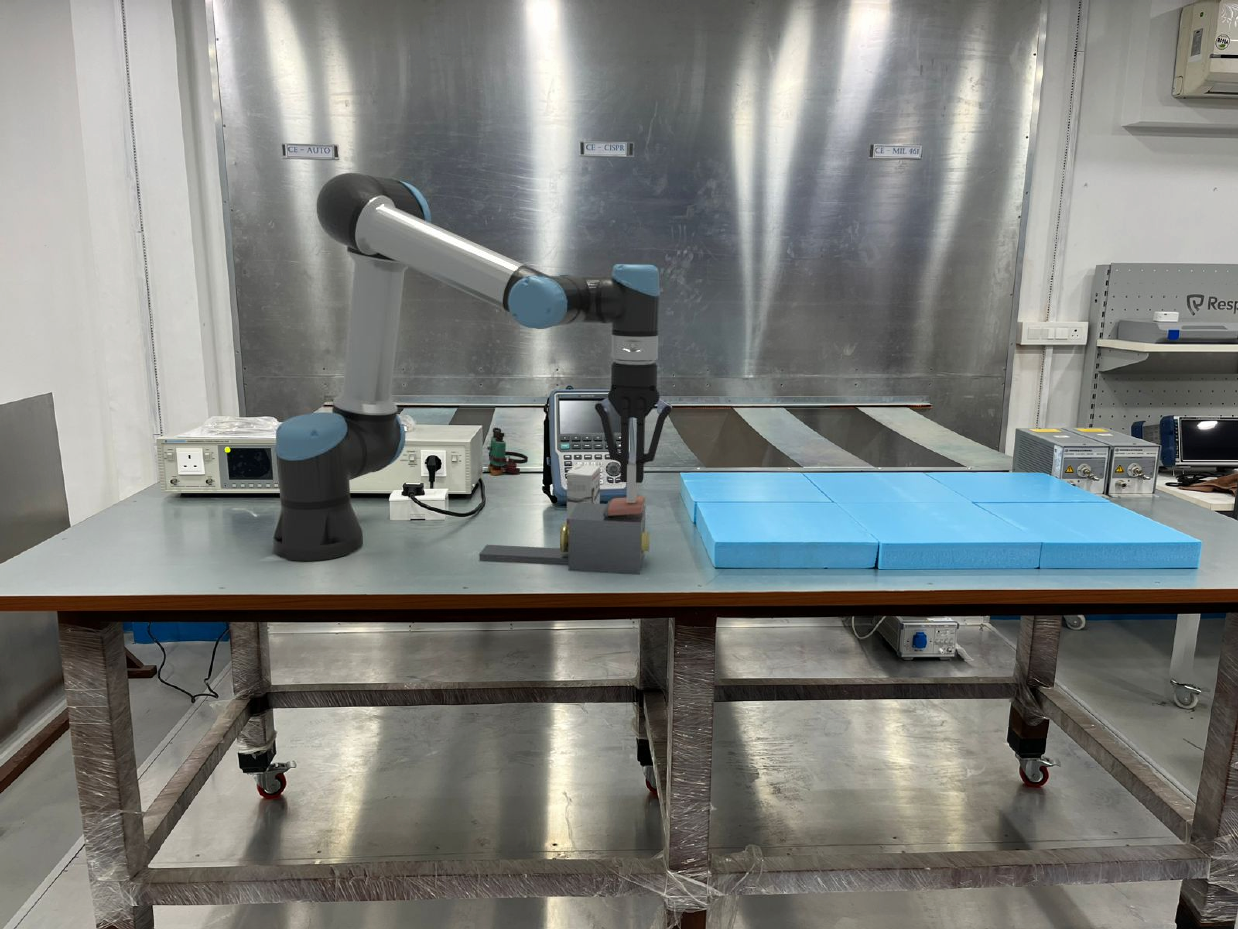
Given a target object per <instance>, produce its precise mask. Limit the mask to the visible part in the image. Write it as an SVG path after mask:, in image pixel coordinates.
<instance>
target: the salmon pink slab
mask: <svg viewBox="0 0 1238 929" xmlns="http://www.w3.org/2000/svg"><path fill="white" fill-rule="evenodd" d="M645 498H646V497H645V495H643V496H637V499H636V502H635V503H626V502H627V497H616V498H612V499H611V500H608V501H607V503H606V504H607V506H606V508H605V510H604V513H603V516H604V517H605V518H607V517H608V516H611V515H624V514H638V513H642V510H643V507H644V506H645V503H646V502H645V501H646V499H645Z"/></svg>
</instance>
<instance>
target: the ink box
mask: <svg viewBox="0 0 1238 929" xmlns="http://www.w3.org/2000/svg"><path fill="white" fill-rule="evenodd" d="M600 486H601V465H592V464H584V463H583V464H582V463H577V464H575V465H573V467H572V468H570V469H569V470H568V471H567V473H566V524H569V518H570V516H571V514H572V512H573V511H574V509H575V507H576V505H577V503H597V504H601V503H600V502H601V487H600Z"/></svg>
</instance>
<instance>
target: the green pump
mask: <svg viewBox="0 0 1238 929" xmlns="http://www.w3.org/2000/svg"><path fill="white" fill-rule="evenodd" d="M492 433H493V436H491V439H490V446H487V448H486V450H487V451H489V452H488V461H489V464H488V465H487V470H488V471H490V475H493V476H496V475H501V474H502V473H510V474H516V475H517V474H518V475H520V473H521V468H519V467H517V465H518V464H521V465H522V464H527V463H528V459H529V457H528V456H527V455H525V454H523V453H520V452H515V451H506V446H507V443H506V441H504V440H503V439H504V437H505V432H502V429H501V428H499V427H493V428H492ZM511 457H517V458H519V459H516V458H511ZM507 458H508V459H507Z"/></svg>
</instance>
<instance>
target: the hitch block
mask: <svg viewBox="0 0 1238 929" xmlns="http://www.w3.org/2000/svg"><path fill="white" fill-rule="evenodd" d="M606 506H607V503H600V504H597V503H577V505H576V507H575V509H574V511H573V512H572V514H571V516H570V518H569V550H568V552H561V550H560V547H558V548H557V547H542V546H541V547H539V546H518V545H502V544H501V545H499V544H486V545H485V546H484V547H483V549H482V550H481V551H480V553H479V554H478V556H479V558H478V559H479V561H480V562H482V561H483V562H499V563H500V562H501V563H517V564H518V563H521V564H537V565H538V564H540V565H558V566H568V571H572V572H573V571H574V572H591V573H592V572H593V573H609V574H629V575H631V574H633V575H640V574H641V571H642V567H643V561H644V557H645V551H642V532H644V533H646V505H644V507H643V510H642V513H638V514H624V515H611V516H608V517H607V518H605V517H604V516H603V513H604V510H605V508H606Z"/></svg>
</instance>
